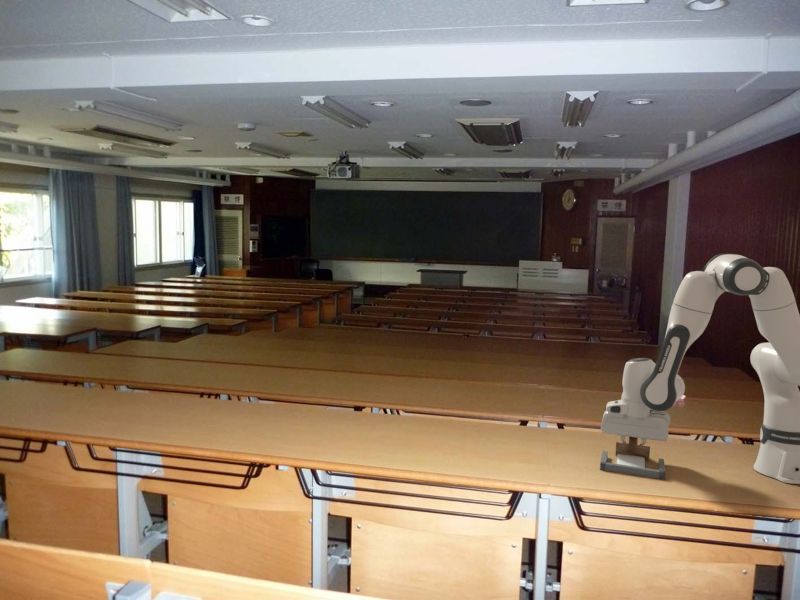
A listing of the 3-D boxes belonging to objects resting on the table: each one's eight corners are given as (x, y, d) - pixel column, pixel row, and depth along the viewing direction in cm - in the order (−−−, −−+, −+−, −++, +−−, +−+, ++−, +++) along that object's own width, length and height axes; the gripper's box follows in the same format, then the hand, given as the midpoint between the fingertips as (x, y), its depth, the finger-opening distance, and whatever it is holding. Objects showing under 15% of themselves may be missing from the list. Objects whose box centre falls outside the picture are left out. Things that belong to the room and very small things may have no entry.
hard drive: (645, 470, 183) (644, 456, 194) (616, 465, 186) (617, 452, 197) (645, 475, 183) (644, 461, 194) (615, 471, 186) (617, 457, 197)
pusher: (649, 442, 200) (650, 432, 197) (648, 460, 195) (649, 449, 192) (616, 438, 204) (617, 428, 201) (615, 455, 198) (616, 445, 195)
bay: (663, 465, 190) (663, 459, 190) (664, 479, 179) (665, 472, 178) (602, 456, 197) (602, 450, 196) (600, 469, 185) (600, 463, 185)
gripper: (670, 409, 195) (667, 452, 196) (602, 401, 202) (600, 442, 204) (671, 414, 189) (668, 458, 190) (601, 406, 196) (599, 448, 198)
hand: (632, 450), depth 197 cm, fingers closed on pusher, 2 cm apart
